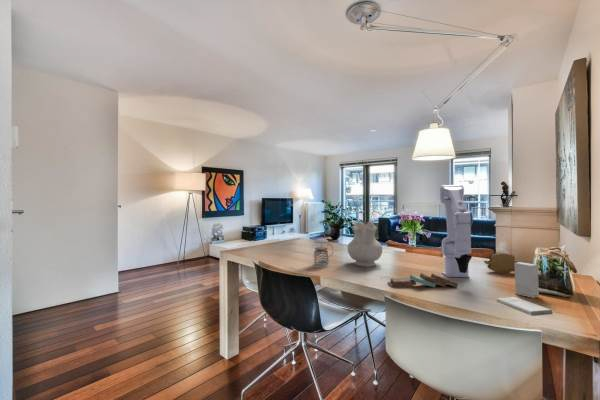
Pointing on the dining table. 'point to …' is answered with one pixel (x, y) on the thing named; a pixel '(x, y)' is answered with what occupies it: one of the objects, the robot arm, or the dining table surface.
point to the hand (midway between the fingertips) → (463, 272)
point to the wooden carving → (501, 263)
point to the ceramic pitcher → (364, 244)
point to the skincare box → (526, 279)
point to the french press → (320, 251)
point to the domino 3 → (422, 281)
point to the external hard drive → (524, 305)
